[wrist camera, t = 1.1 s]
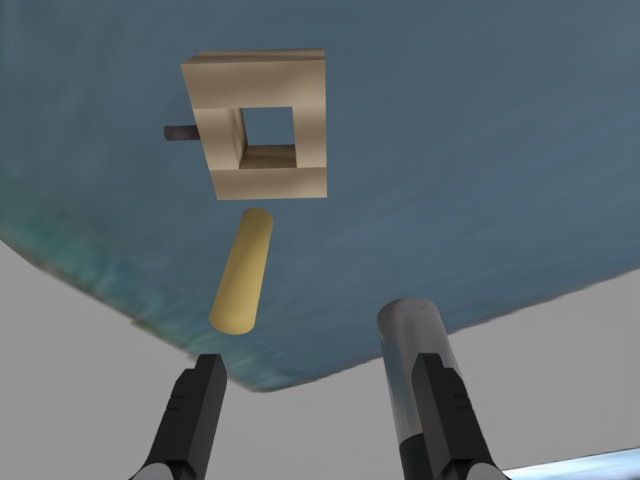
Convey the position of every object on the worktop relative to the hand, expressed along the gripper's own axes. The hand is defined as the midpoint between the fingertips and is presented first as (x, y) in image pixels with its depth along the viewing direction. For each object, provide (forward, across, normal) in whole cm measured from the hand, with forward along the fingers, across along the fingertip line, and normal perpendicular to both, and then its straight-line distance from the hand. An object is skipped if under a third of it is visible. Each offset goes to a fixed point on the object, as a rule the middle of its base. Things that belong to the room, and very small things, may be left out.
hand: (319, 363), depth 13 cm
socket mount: (+23, -6, +3) cm, 24 cm away
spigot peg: (+23, -7, -9) cm, 26 cm away
